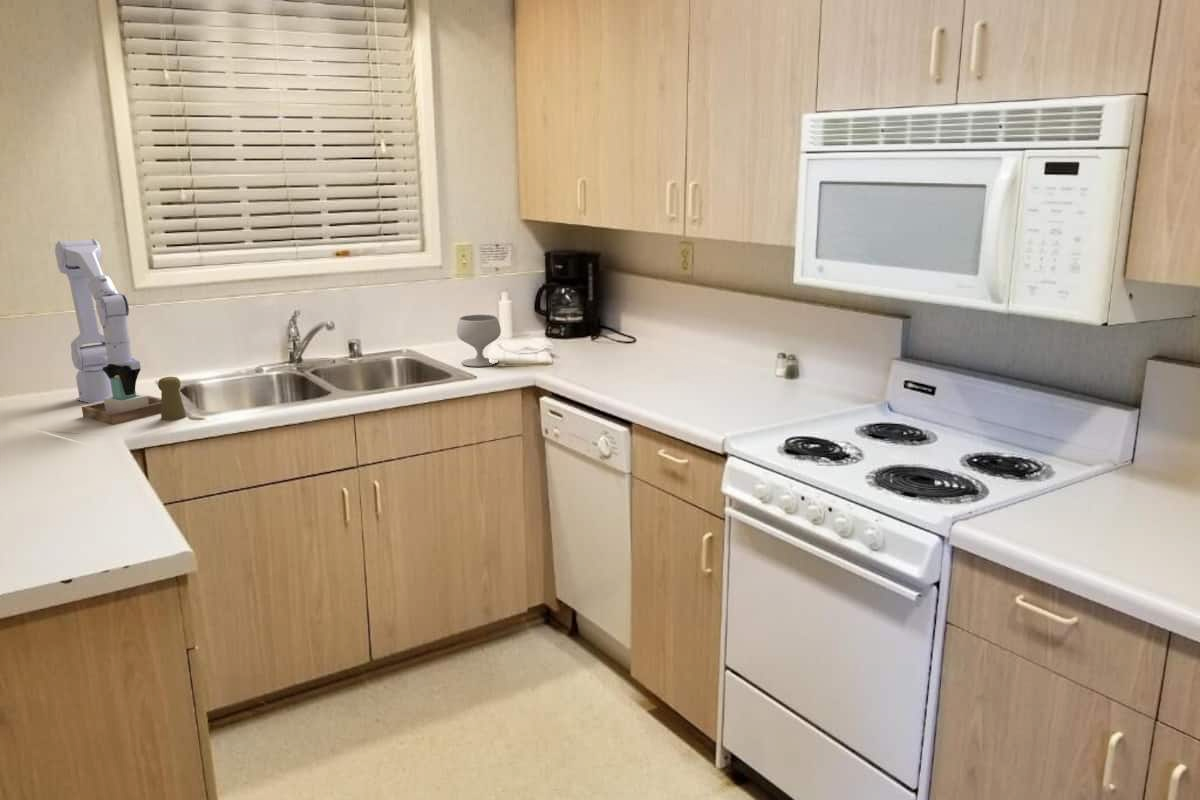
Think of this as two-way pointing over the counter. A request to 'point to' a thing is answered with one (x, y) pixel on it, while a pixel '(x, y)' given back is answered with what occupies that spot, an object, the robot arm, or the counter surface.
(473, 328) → the chalice
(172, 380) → the olive pepper mill
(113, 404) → the frame
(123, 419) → the parts box
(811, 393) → the counter surface
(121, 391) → the plug
